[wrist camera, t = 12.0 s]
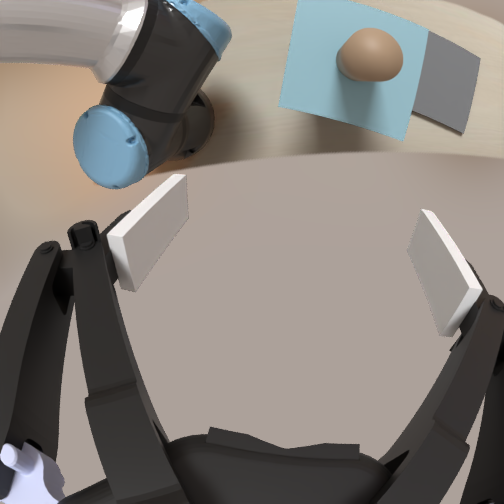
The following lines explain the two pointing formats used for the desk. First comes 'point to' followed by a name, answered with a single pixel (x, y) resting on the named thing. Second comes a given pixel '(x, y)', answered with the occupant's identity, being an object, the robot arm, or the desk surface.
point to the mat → (446, 82)
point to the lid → (354, 65)
